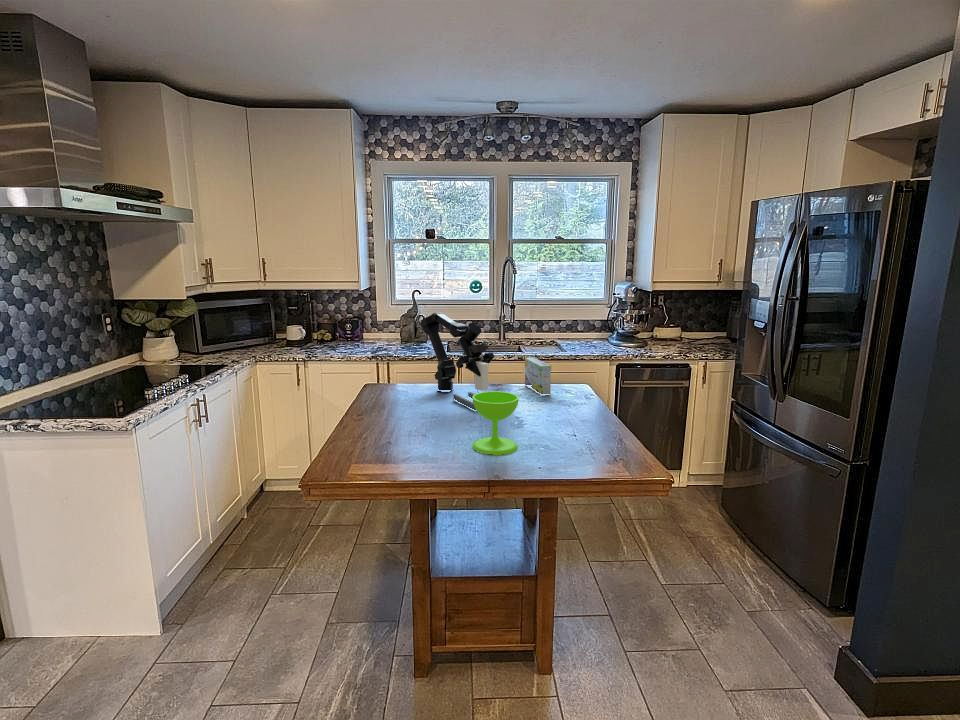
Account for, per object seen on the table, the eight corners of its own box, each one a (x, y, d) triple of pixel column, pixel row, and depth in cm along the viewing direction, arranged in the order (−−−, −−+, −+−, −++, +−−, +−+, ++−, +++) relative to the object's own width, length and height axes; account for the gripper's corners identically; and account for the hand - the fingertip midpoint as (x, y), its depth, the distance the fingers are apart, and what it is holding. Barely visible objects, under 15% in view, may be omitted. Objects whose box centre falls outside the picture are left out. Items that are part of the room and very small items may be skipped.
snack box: (523, 386, 270) (524, 357, 267) (533, 385, 271) (534, 357, 268) (540, 396, 250) (541, 365, 247) (551, 395, 251) (552, 365, 249)
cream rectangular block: (475, 388, 236) (475, 362, 234) (481, 387, 238) (481, 361, 236) (482, 390, 232) (482, 364, 230) (488, 389, 235) (488, 363, 232)
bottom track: (453, 400, 241) (453, 394, 241) (470, 398, 246) (470, 392, 245) (475, 411, 224) (475, 404, 224) (492, 409, 229) (492, 402, 228)
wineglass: (526, 450, 180) (528, 399, 177) (486, 458, 172) (487, 406, 169) (502, 436, 194) (502, 389, 190) (463, 443, 186) (464, 394, 183)
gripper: (459, 338, 228) (475, 367, 222) (492, 334, 240) (508, 362, 233) (449, 353, 235) (463, 382, 229) (481, 349, 247) (496, 376, 241)
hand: (483, 375), depth 233 cm, fingers closed on cream rectangular block, 3 cm apart
